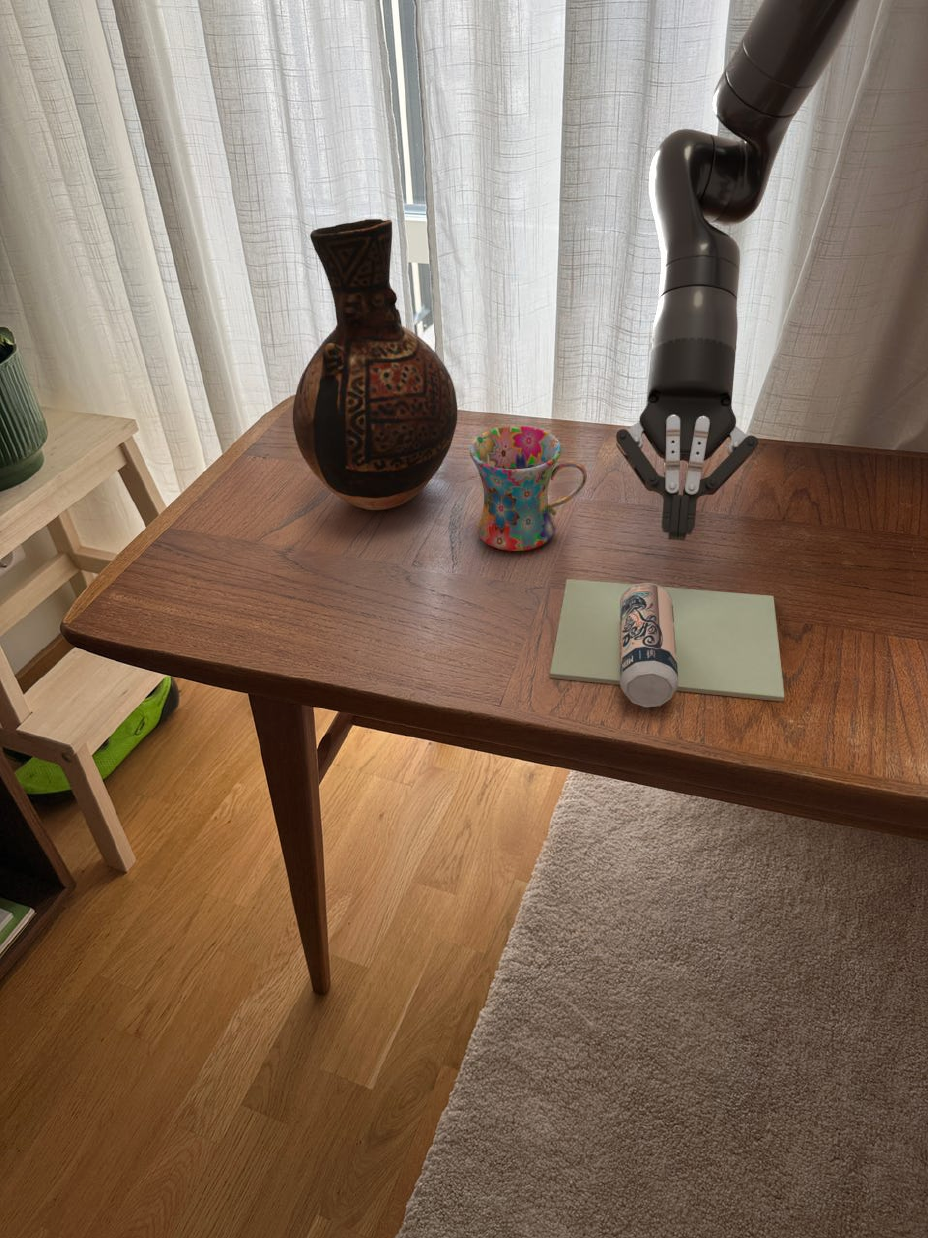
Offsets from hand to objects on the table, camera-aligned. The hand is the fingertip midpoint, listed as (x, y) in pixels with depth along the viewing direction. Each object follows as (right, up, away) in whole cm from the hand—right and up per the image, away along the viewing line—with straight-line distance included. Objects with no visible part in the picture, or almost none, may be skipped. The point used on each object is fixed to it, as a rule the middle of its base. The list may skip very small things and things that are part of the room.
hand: (677, 538), depth 79 cm
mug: (-12, +2, +17) cm, 21 cm away
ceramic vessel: (-28, +8, +26) cm, 39 cm away
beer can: (-2, -5, +3) cm, 7 cm away
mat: (0, -9, +3) cm, 10 cm away
